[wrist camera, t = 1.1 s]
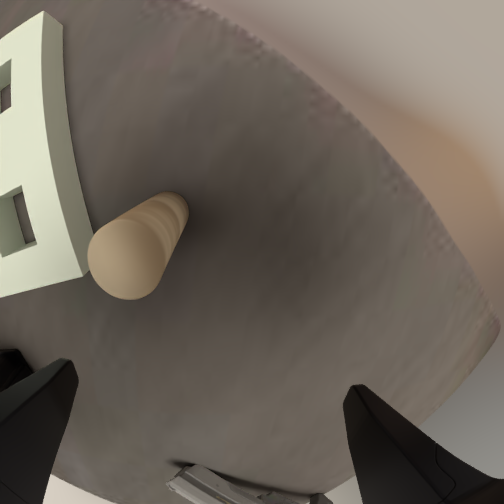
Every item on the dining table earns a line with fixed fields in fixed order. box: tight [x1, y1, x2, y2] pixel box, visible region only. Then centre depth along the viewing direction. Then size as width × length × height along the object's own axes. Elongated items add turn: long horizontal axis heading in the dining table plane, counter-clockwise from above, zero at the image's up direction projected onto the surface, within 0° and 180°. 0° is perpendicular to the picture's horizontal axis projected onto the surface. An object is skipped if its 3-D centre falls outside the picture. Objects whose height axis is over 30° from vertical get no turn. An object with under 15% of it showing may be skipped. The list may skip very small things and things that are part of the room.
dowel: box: [87, 191, 189, 300], centre depth 14 cm, size 3×3×10 cm
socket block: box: [0, 11, 94, 297], centre depth 14 cm, size 20×10×4 cm, turn 11°
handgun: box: [166, 464, 333, 504], centre depth 30 cm, size 31×3×15 cm, turn 48°
